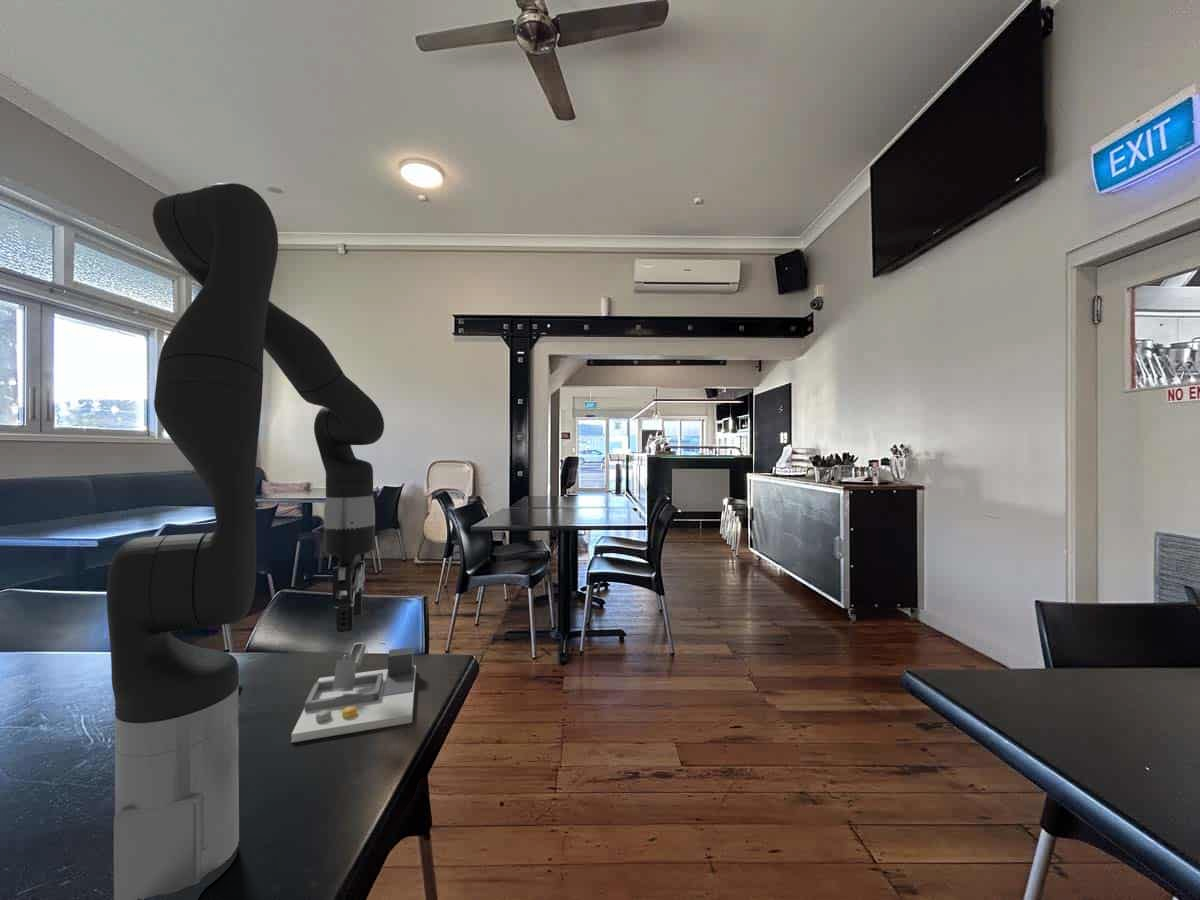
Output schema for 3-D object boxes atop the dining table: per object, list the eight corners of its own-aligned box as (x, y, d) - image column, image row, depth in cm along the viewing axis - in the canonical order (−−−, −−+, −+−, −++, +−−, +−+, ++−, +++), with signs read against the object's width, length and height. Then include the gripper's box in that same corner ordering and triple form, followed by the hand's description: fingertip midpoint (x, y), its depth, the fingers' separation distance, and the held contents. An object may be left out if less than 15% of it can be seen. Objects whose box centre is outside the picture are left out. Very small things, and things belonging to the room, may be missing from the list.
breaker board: (411, 722, 75) (411, 706, 75) (291, 742, 70) (291, 725, 70) (415, 671, 92) (415, 658, 92) (319, 684, 87) (319, 671, 87)
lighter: (343, 687, 78) (351, 635, 82) (331, 689, 78) (340, 636, 82) (359, 692, 84) (366, 643, 88) (349, 693, 84) (356, 644, 88)
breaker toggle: (412, 673, 88) (412, 653, 88) (388, 676, 87) (388, 656, 87) (412, 666, 91) (412, 647, 91) (389, 669, 90) (389, 650, 90)
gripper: (368, 528, 75) (368, 634, 75) (380, 517, 89) (380, 607, 89) (313, 530, 73) (313, 640, 73) (333, 519, 87) (333, 612, 86)
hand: (350, 622), depth 81 cm, fingers open, 8 cm apart
